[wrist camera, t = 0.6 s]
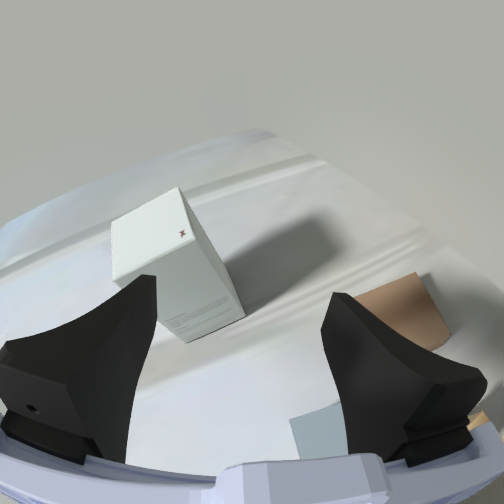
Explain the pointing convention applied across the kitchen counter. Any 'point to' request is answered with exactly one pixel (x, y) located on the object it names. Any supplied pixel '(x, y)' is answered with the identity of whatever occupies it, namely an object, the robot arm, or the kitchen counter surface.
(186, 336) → the supplement box
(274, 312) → the kitchen counter surface
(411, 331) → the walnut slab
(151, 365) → the kitchen counter surface
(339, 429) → the slate block
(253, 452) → the kitchen counter surface
